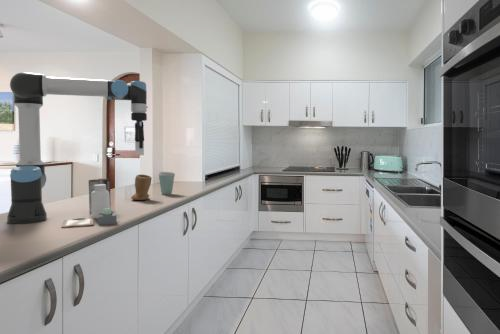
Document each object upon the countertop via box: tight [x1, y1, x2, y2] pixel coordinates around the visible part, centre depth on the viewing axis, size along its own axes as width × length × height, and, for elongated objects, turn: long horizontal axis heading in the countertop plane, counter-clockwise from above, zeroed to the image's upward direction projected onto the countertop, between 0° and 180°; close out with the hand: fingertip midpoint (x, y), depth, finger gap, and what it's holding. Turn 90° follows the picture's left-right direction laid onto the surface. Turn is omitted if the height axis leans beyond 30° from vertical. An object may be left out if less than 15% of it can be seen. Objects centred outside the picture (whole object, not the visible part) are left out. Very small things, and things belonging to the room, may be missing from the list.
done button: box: [103, 208, 112, 216], centre depth 171 cm, size 3×3×4 cm
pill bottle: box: [90, 184, 111, 220], centre depth 183 cm, size 8×8×15 cm
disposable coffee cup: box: [157, 171, 176, 196], centre depth 265 cm, size 11×11×15 cm
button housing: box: [98, 212, 117, 226], centre depth 172 cm, size 7×7×4 cm
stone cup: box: [130, 174, 152, 201], centre depth 240 cm, size 15×12×15 cm
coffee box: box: [88, 178, 112, 214], centre depth 198 cm, size 9×6×16 cm
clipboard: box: [61, 217, 95, 229], centre depth 169 cm, size 12×14×1 cm
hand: (139, 154), depth 204 cm, fingers open, 13 cm apart
